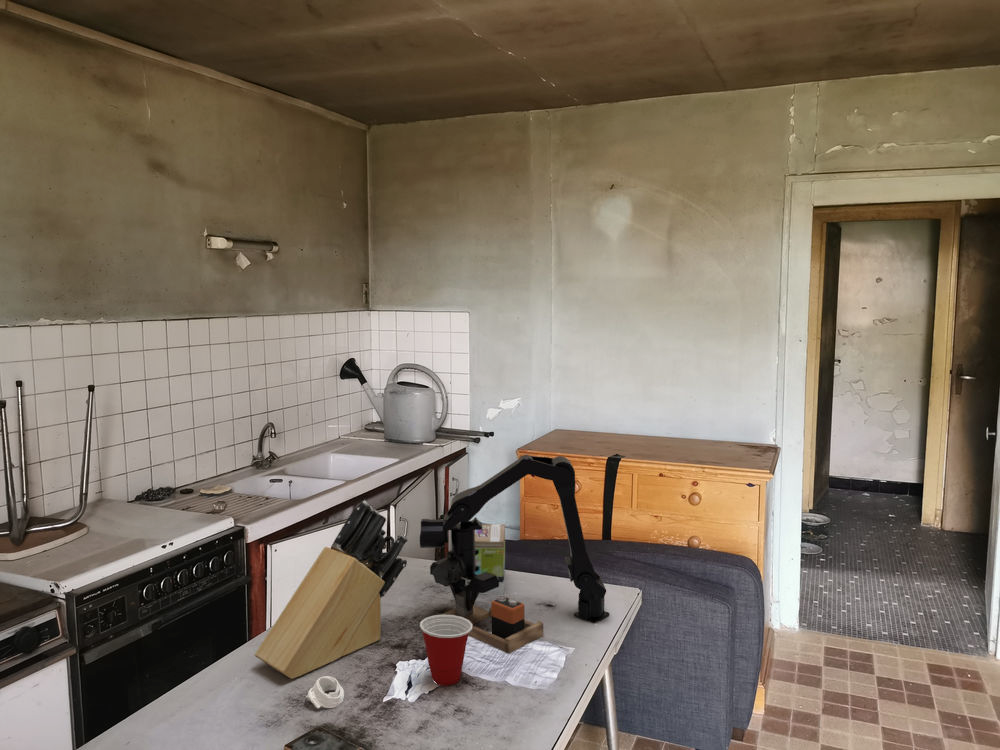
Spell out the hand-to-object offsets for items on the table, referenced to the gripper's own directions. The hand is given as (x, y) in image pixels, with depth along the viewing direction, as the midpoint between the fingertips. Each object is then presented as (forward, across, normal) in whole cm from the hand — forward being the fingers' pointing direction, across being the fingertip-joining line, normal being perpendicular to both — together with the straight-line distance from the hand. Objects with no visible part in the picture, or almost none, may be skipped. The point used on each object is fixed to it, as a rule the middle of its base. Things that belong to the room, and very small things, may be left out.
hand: (464, 608), depth 184 cm
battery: (+3, +16, -1) cm, 16 cm away
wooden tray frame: (+2, +8, 0) cm, 8 cm away
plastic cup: (+3, +18, -22) cm, 28 cm away
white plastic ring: (+3, +7, -44) cm, 44 cm away
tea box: (+3, -11, +19) cm, 22 cm away
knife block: (+3, -10, -29) cm, 31 cm away
